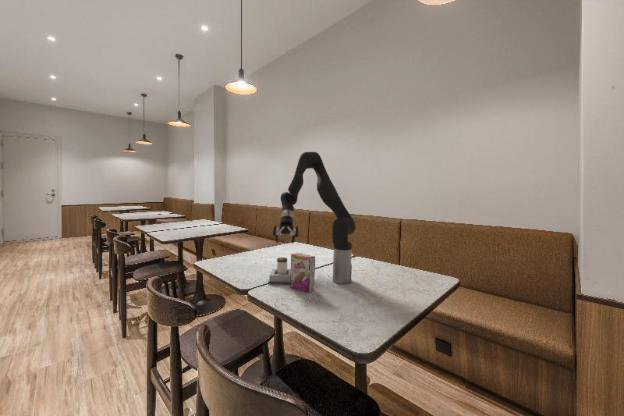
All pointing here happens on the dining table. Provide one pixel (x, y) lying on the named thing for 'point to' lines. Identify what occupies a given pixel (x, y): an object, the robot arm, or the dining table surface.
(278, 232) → the robot arm
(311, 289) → the candy bar box
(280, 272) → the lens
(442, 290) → the dining table surface
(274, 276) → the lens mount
